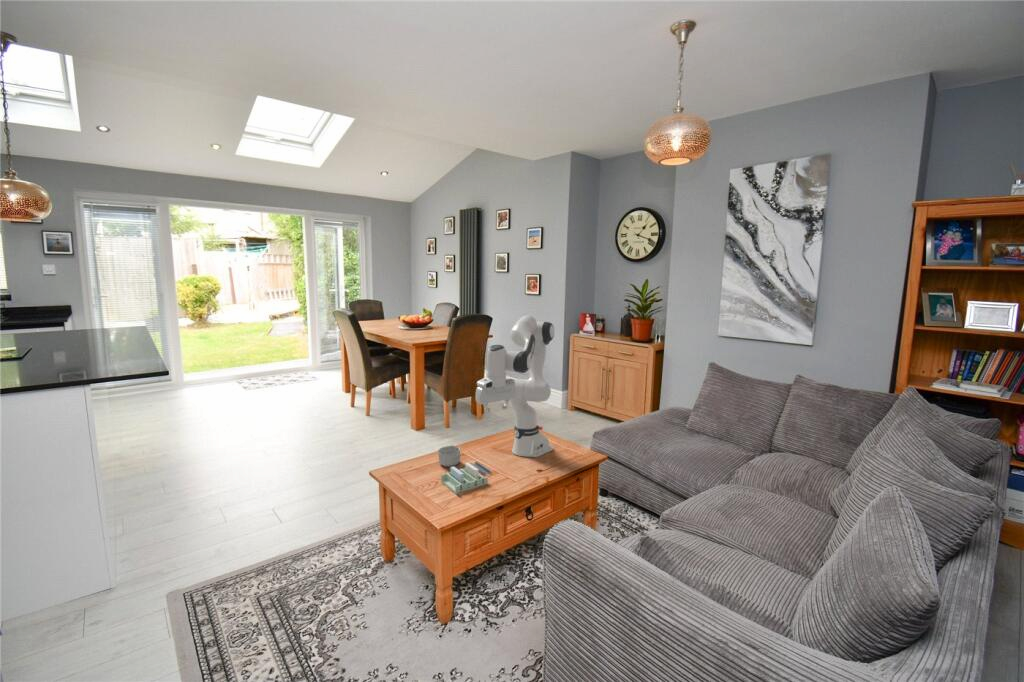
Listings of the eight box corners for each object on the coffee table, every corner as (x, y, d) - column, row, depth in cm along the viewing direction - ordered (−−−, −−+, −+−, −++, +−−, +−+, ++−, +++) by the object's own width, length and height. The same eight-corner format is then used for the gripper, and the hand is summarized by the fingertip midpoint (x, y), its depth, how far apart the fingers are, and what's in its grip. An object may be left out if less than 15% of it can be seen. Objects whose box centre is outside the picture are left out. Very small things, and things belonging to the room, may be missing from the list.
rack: (471, 473, 214) (471, 459, 212) (487, 484, 202) (487, 469, 201) (441, 482, 204) (440, 467, 203) (456, 494, 193) (455, 478, 192)
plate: (468, 474, 209) (468, 462, 208) (478, 482, 202) (478, 469, 201) (465, 475, 208) (465, 463, 207) (475, 483, 201) (475, 470, 200)
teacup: (456, 470, 217) (456, 454, 216) (434, 468, 219) (434, 452, 218) (465, 458, 230) (464, 443, 229) (444, 457, 233) (444, 442, 231)
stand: (477, 464, 224) (477, 460, 224) (491, 473, 213) (491, 470, 213) (468, 466, 221) (468, 463, 221) (482, 476, 211) (482, 472, 210)
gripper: (510, 376, 215) (510, 405, 217) (473, 382, 203) (473, 412, 205) (518, 379, 210) (518, 408, 212) (481, 385, 198) (481, 415, 200)
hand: (496, 410), depth 208 cm, fingers open, 8 cm apart
